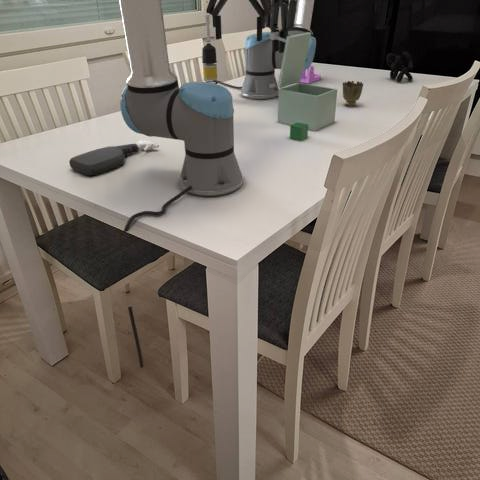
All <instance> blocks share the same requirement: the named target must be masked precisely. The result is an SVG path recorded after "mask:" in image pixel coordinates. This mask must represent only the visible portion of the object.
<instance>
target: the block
mask: <svg viewBox="0 0 480 480" xmlns="http://www.w3.org/2000/svg"><path fill="white" fill-rule="evenodd" d="M289 126H290V127H289V139H291V140H296V141H299V142H302V141H304V140H305V139H307V138H309V137H308V136H309V129H308V124H303V123H298V122H297V123H295V124H293V125H289Z"/></svg>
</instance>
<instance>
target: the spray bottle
mask: <svg viewBox="0 0 480 480" xmlns="http://www.w3.org/2000/svg"><path fill="white" fill-rule="evenodd" d="M159 148H160V145H159V144H158V143H155V142H151V141H148V140H144V139H139V140H138V141H137V142H135V143H129V144H128V143H126V144H122V145H113V146H105V147H100V148H97V149H94V150H90V151H87V152H83V153H81V154H78V155H74V156H73V157H70V159H69V161H68V162H69V167H70V168H71V169H72V170H74V171H75V172H78V173H81V174H83V175H85V176H89V177H90V176H91V177H92V176H95V175H99V174H102V173H105V172H107V171H110V170H113V169H116V168H118V167H120V166H122V165H123V164H124V163H125V158H126V156H127V155H131V154H133V153H138V151H140V150H143V151H144V152H146V151H147V150H149V149H159Z"/></svg>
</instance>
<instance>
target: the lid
mask: <svg viewBox="0 0 480 480" xmlns="http://www.w3.org/2000/svg"><path fill="white" fill-rule="evenodd" d="M310 37H311V33H309V32H307V33H302V34H297V35H290V34H288V36H287V39H283V38H280V37H279V32H273V33H270V39H271V40H276V39H277V40H280V41H283V42H285V43H286V44H285V49H284V55H283V60H282V65H281V69H280V71H279V76H278V81H277V85H278V89H282V88H285V87H288V86H291V85H295V84H298V83H302V82H301V78H302V74H303V69H304V64H305V60H306V55H307V51H308V46H309V42H310Z"/></svg>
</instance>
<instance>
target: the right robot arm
mask: <svg viewBox="0 0 480 480" xmlns="http://www.w3.org/2000/svg"><path fill="white" fill-rule="evenodd" d="M268 3H269V5H270V8H271V10H272V13H271V14H268V15H266V17H265V28H268V29H270V31H264V32H263V31H262V40H261V41H257V33H253V34H250V35H248V36H247V37H246V38H245V48H244V50H245V51H244V52H245V53H244V55H245V57H244V59H245V77H244V80H243V84H242V86H237V85H232V84H229V83H225V82H224V81H221V80H218V79H217V80H212V81H215V82H218V83H217V84H220V85H222V86H227V87H230V88H234V89H239V90H241V91H240V92H241V93H240V95H241V97H242V98H246V99H249V100H270V99H274V98H277V97H278V96H279V89H280V88H279V87H278V81H277V79H276V75H275V74H276V71H275V70H281V65H282V60H283V55H284V49H285V44H286V43H285V42H283V41H280V40H277V39H276V40H271V39H270V33H273V32H279V37H280V38H283V39H287V36H288V34H290V35H297V34H302V33H307V32H309V33H311V37H310V42H309V46H308V51H307V55H306V60H305V64H304V69H303V70H306V71H307V69H308V68H309V67H310V66H312V65H313V61H314V58H315V54H316V47H317V39H316V37H314V33H313V31H312V29H311V25H312V24H311V23H312V18H313V11H314V4H315V0H268ZM279 14H280V15H279ZM279 16H280V17H279ZM279 18H280V25H281V28H279V25H278V24H279ZM203 82H207V80H204V79H203ZM215 82H214V83H215Z"/></svg>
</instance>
